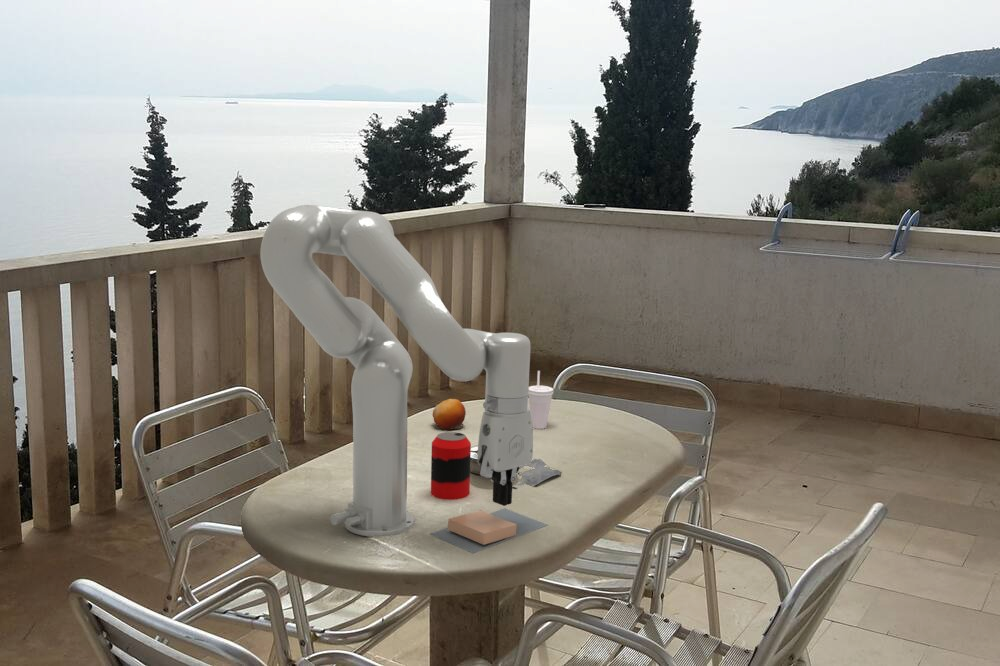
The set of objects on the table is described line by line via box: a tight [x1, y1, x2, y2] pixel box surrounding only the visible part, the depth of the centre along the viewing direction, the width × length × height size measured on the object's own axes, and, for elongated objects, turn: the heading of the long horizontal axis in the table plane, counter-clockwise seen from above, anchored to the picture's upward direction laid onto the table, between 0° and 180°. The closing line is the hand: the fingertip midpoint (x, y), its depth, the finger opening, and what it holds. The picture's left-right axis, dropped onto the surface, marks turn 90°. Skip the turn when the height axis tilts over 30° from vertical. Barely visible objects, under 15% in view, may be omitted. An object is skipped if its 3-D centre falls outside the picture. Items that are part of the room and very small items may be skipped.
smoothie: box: [528, 370, 554, 430], centre depth 245 cm, size 6×6×14 cm
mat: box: [429, 508, 549, 554], centre depth 179 cm, size 19×11×1 cm, turn 136°
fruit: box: [432, 398, 467, 431], centre depth 243 cm, size 8×8×8 cm
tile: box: [447, 509, 517, 545], centre depth 177 cm, size 2×9×8 cm
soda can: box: [430, 431, 472, 501], centre depth 196 cm, size 8×8×12 cm
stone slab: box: [512, 458, 562, 490], centre depth 210 cm, size 18×2×10 cm
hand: (502, 502), depth 180 cm, fingers closed
